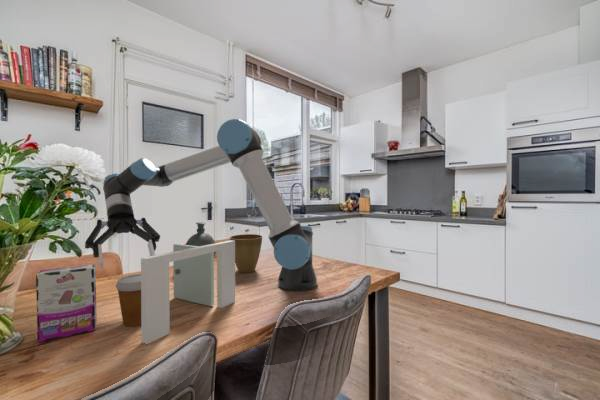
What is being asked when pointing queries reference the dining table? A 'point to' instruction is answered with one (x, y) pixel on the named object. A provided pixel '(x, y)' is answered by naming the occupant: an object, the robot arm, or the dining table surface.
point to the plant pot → (247, 251)
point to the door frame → (157, 285)
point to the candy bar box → (66, 302)
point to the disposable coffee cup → (130, 299)
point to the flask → (200, 237)
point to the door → (194, 277)
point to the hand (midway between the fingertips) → (128, 261)
